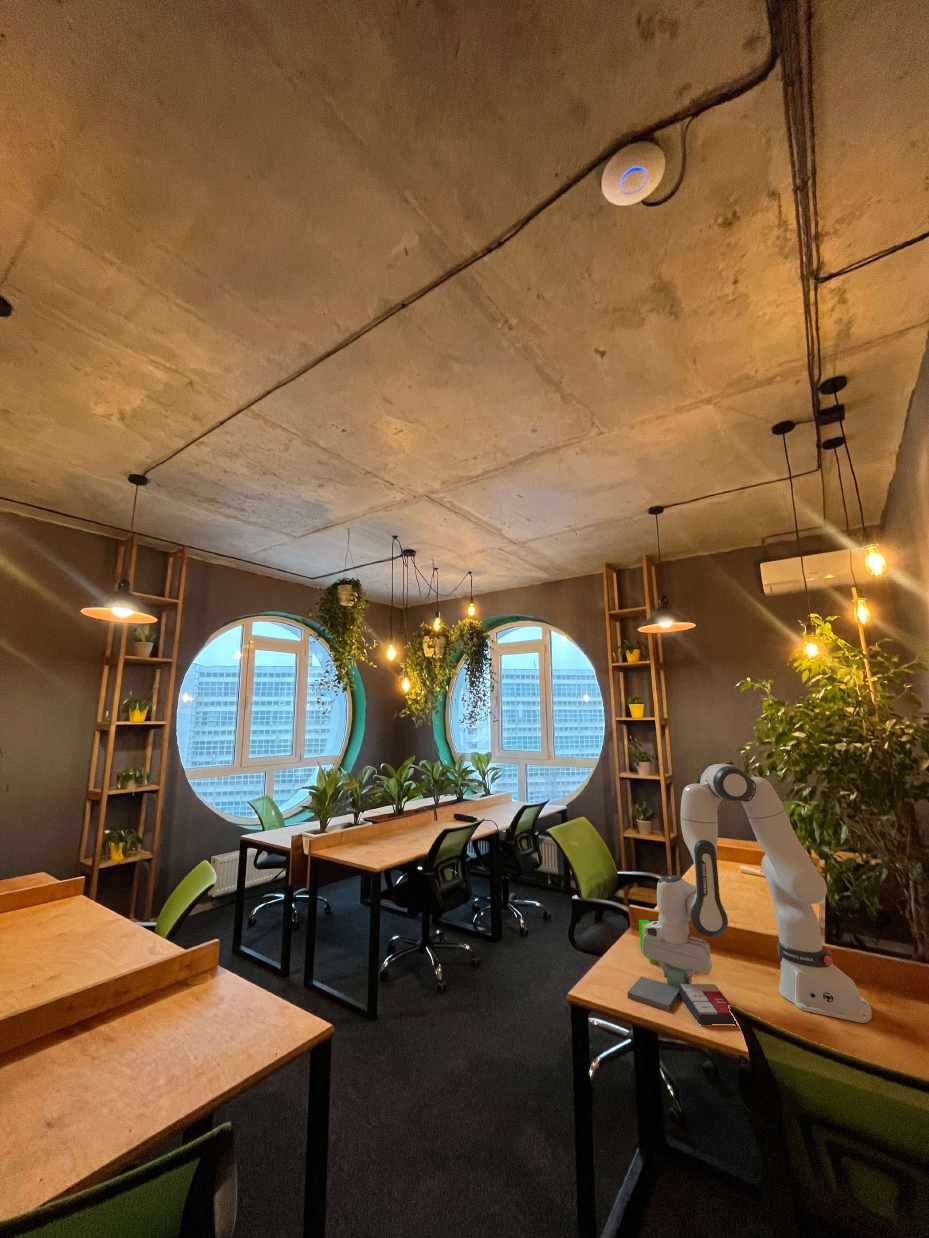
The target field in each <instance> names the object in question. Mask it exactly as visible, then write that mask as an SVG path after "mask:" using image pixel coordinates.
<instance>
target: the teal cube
mask: <svg viewBox="0 0 929 1238" xmlns="http://www.w3.org/2000/svg"><path fill="white" fill-rule="evenodd" d="M666 968H667V969H666V972H667V978H666V984H668V985H672V986H675V987H678V988H679V984H686V983H685V977H686V976H689V973H688V969H685V968H682V967H678V966H675V965H671V964H668V966H667V967H666Z"/></svg>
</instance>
